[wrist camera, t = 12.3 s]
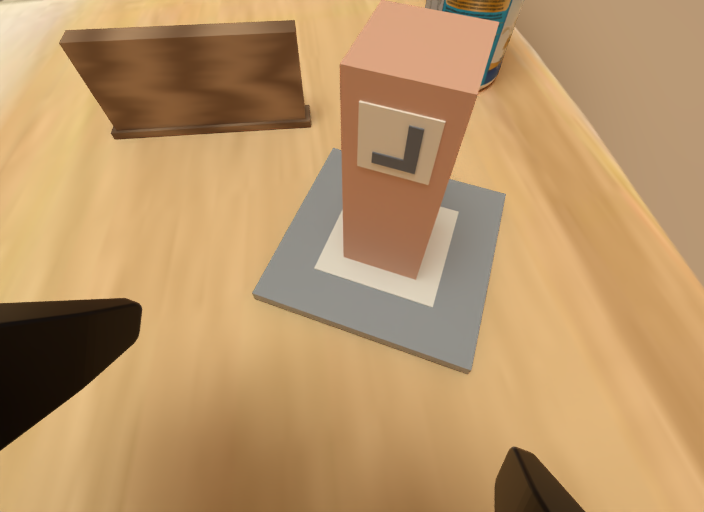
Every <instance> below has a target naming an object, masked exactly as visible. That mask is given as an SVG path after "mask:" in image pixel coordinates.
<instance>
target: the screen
mask: <svg viewBox="0 0 704 512" xmlns="http://www.w3.org/2000/svg"><path fill="white" fill-rule="evenodd" d="M59 44H60V45H61V47H62V48H63V50H64V51H65V53H66V54H67V56H68V58H69V59H70V61H71V62H72V64H73V65H74V67H75V68H76V70H77V71H78V73H79V74H80V76H81V77H82V79H83V80H84V82H85V83H86V85H87V86H88V88H89V89H90V91H91V93H92V94H93V96H94V97H95V99H96V100H97V102H98V103H99V105H100V106H101V108H102V109H103V111H104V112H105V114H106V115H107V117H108V118H109V120H110V121H111V123H112V124H113V129H112V132H111V134H112V136H113V137H114V139H124V138H141V137H157V136H173V135H189V134H205V133H221V132H237V131H253V130H270V129H286V128H302V127H311V123H310V109H309V105H304V97H303V88H302V79H301V71H300V62H299V53H298V45H297V36H296V27H295V20H289V21H266V22H243V23H221V24H198V25H176V26H153V27H131V28H108V29H86V30H66V31H65V33H64V35H63V37H62V38H61V40H60V42H59Z"/></svg>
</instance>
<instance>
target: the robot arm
mask: <svg viewBox="0 0 704 512" xmlns="http://www.w3.org/2000/svg"><path fill="white" fill-rule="evenodd" d="M141 316H142V307H141V305H140V304H139V303H137V302H135V301H132V300H129V299H126V298H115V299H91V300H68V301H44V302H21V303H0V451H1V450H2V449H3V448H5V447H6V446H7V445H9V444H10V443H11V442H13V441H14V440H15V439H17V438H18V437H19V436H21V435H22V434H23V433H25V432H26V431H27V430H29V429H30V428H31V427H33V426H34V425H35V424H37V423H38V422H39V421H41V420H42V419H43V418H45V417H46V416H47V415H49V414H50V413H51V412H53V411H54V410H55V409H57V408H58V407H59V406H61V405H62V404H63V403H65V402H66V401H67V400H69V399H70V398H71V397H73V396H74V395H75V394H77V393H78V392H79V391H80V390H82V389H83V388H84V387H85V386H87V385H88V384H89V383H90V382H91V381H92V380H94V379H95V378H96V377H97V376H98V375H99V374H100V373H101V372H102V371H104V370H105V369H106V368H107V367H108V366H109V365H110V364H111V363H113V362H114V361H115V360H116V359H117V358H118V357H119V356H120V355H122V354H123V353H124V352H125V351H126V350H127V349H128V348H129V347H131V346H132V345H133V344H134V343H135V341H136V340H137V338H138V336H139V333H140V324H141ZM495 512H585V511H584V510H583V509H582V508H581V506H580V505H579V504H578V503H577V502H576V501H575V500H574V499H573V497H572V496H571V495H570V494H569V493H568V492H567V491H566V490H565V488H564V487H563V486H562V485H561V484H560V483H559V482H558V481H557V480H556V478H555V477H554V476H553V475H552V474H551V473H550V472H549V471H548V469H547V468H546V467H545V466H544V465H543V464H542V463H541V462H540V460H539V459H538V458H537V457H536V456H535V455H534V454H533V453H531V452H528V451H526V450H523V449H520V448H518V447H512V448H511V449H510V450H509V451H508V453H507V455H506V458H505V460H504V462H503V464H502V466H501V469H500V471H499V473H498V475H497V478H496V482H495Z"/></svg>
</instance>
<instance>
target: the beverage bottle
mask: <svg viewBox="0 0 704 512" xmlns="http://www.w3.org/2000/svg"><path fill="white" fill-rule="evenodd" d="M523 3H524V0H426V5H425V8H428V9H433V10H438V11H444V12H449V13H454V14H459V15H465V16H470V17H475V18H481V19H486V20H491V21H497V22H499V25H498V28H497V32H496V35H495V38H494V42H493V45H492V48H491V52H490V55H489V58H488V62H487V65H486V68H485V72H484V75H483V78H482V82H481V85H480V88H479V90H480V89H482V88H484V87H486V86H488V85H489V84H491V83H492V82H493V81H494V79H495V78H496V76H497V74H498V72H499V69H500V66H501V63H502V60H503V57H504V54H505V51H506V49H507V46H508V43H509V40H510V38H511V35H512V32H513V30H514V27H515V24H516V21H517V19H518V16H519V14H520V11H521V8H522V5H523Z"/></svg>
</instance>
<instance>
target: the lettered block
mask: <svg viewBox="0 0 704 512" xmlns="http://www.w3.org/2000/svg"><path fill="white" fill-rule="evenodd" d="M498 25H499V22H497V21H491V20H486V19H481V18H475V17H470V16H465V15H459V14H454V13H449V12H444V11H438V10H433V9H428V8H422V7H417V6H412V5H406V4H401V3H396V2H391V1H385V0H381V2H380V3H379V5H378V6H377V8H376V9H375V11H374V12H373V14H372V15H371V17H370V18H369V20H368V22H367V23H366V25H365V26H364V28H363V29H362V31H361V32H360V34H359V35H358V37H357V38H356V40H355V41H354V43H353V44H352V46H351V48H350V49H349V51H348V52H347V54H346V55H345V57H344V58H343V60H342V61H341V63H340V100H341V151H342V202H343V253H344V257H345V258H348V259H352V260H355V261H358V262H361V263H364V264H367V265H370V266H374V267H377V268H380V269H383V270H386V271H389V272H392V273H396V274H399V275H402V276H405V277H408V278H411V279H415V280H416V278H417V275H418V272H419V269H420V266H421V263H422V260H423V257H424V254H425V251H426V248H427V245H428V242H429V239H430V236H431V233H432V230H433V227H434V224H435V221H436V218H437V215H438V212H439V209H440V206H441V203H442V200H443V197H444V194H445V191H446V188H447V185H448V182H449V179H450V176H451V173H452V170H453V167H454V164H455V161H456V158H457V155H458V152H459V149H460V146H461V143H462V140H463V137H464V134H465V131H466V128H467V125H468V122H469V119H470V116H471V113H472V110H473V107H474V104H475V101H476V98H477V95H478V92H479V88H480V85H481V82H482V78H483V75H484V72H485V68H486V65H487V62H488V58H489V55H490V52H491V48H492V45H493V42H494V38H495V35H496V32H497V28H498Z"/></svg>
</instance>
